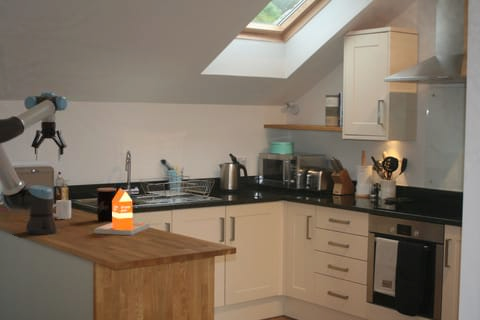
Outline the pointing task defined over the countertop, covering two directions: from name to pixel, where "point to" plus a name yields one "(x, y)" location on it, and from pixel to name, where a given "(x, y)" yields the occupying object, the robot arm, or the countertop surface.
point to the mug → (63, 209)
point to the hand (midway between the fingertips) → (49, 160)
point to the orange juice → (122, 211)
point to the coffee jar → (105, 203)
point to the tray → (109, 230)
